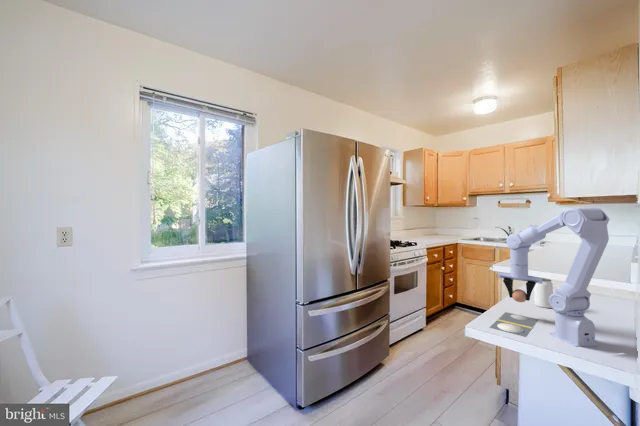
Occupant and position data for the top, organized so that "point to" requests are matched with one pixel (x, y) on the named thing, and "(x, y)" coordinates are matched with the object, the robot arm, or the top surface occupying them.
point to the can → (543, 293)
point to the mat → (516, 322)
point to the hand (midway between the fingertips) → (519, 298)
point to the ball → (519, 295)
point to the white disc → (510, 328)
